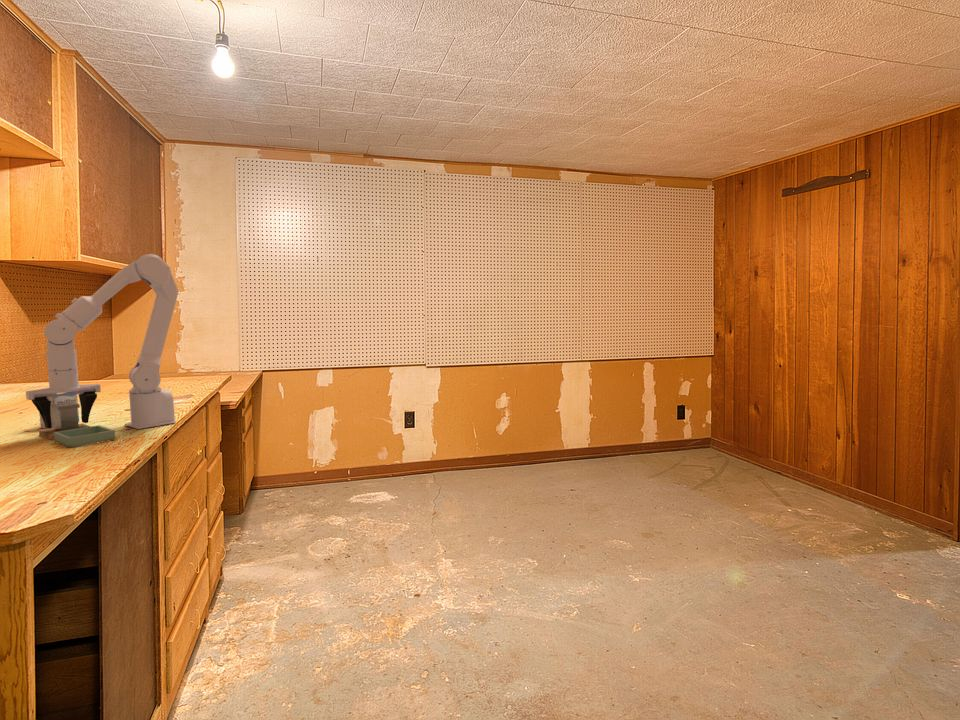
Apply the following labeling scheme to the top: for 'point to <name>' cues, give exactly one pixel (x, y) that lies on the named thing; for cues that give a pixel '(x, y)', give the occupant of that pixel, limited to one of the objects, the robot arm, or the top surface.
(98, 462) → the top surface
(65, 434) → the tray
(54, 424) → the medicine box
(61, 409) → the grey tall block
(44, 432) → the collar
